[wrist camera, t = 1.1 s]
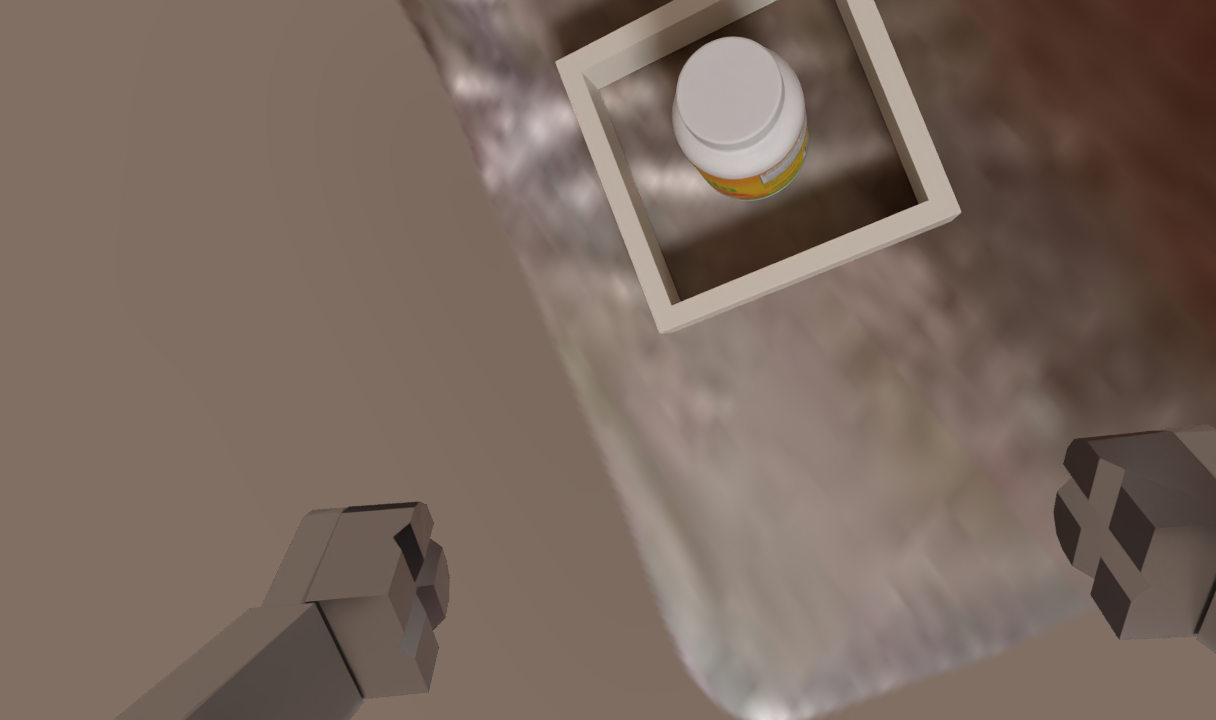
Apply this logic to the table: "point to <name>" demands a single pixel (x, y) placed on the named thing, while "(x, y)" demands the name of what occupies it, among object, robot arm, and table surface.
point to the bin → (690, 16)
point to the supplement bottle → (741, 118)
